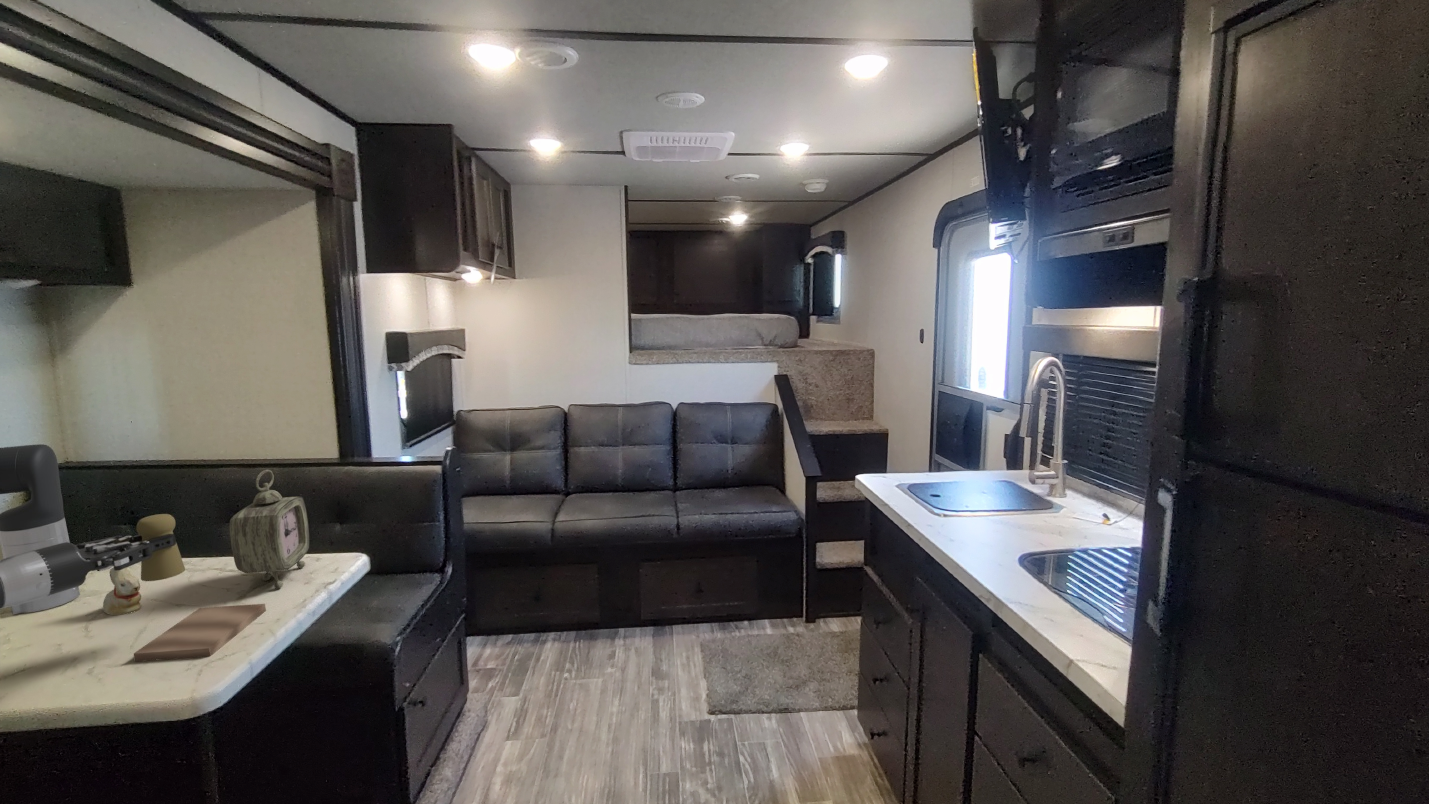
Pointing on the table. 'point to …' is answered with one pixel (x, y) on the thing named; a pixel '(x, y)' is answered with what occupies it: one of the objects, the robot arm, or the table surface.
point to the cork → (163, 560)
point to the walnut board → (201, 632)
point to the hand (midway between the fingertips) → (166, 537)
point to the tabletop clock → (270, 533)
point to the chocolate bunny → (122, 593)
